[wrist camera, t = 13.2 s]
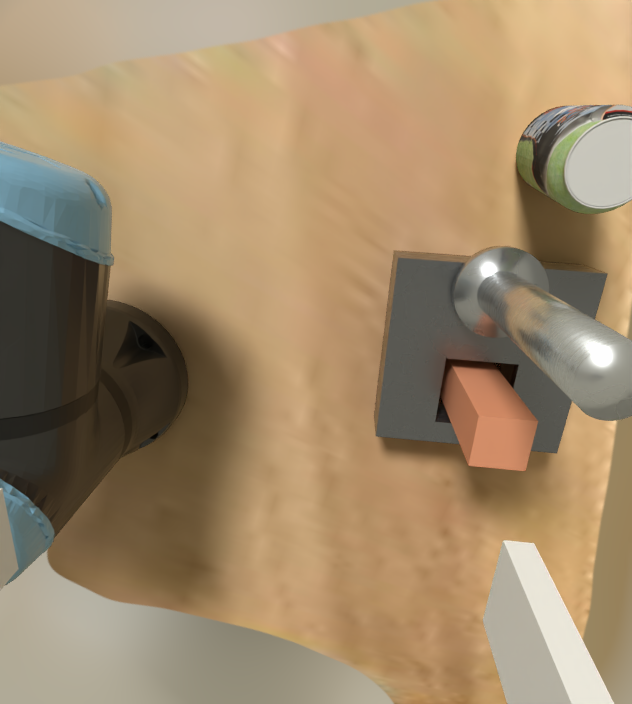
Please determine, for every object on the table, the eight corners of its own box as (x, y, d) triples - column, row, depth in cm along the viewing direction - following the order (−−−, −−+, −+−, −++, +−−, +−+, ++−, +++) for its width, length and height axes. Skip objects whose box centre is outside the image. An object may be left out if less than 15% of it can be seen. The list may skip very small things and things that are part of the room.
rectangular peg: (439, 393, 45) (468, 465, 34) (446, 354, 43) (478, 415, 32) (481, 397, 45) (525, 471, 33) (490, 358, 43) (538, 421, 32)
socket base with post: (374, 415, 46) (391, 606, 25) (396, 232, 40) (442, 288, 19) (540, 430, 45) (696, 639, 25) (588, 246, 39) (849, 320, 19)
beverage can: (609, 131, 36) (724, 110, 25) (550, 220, 39) (631, 236, 27) (539, 92, 36) (625, 51, 24) (485, 184, 38) (540, 186, 27)
